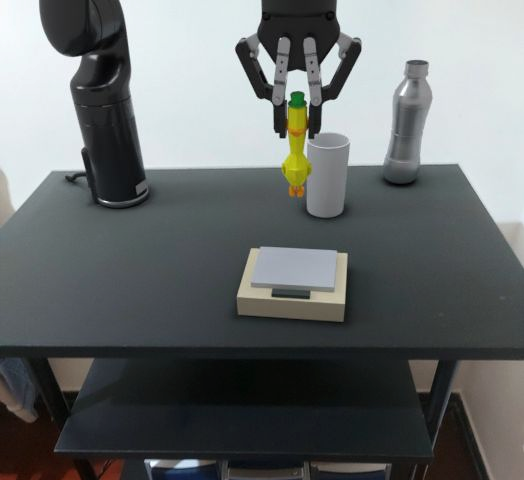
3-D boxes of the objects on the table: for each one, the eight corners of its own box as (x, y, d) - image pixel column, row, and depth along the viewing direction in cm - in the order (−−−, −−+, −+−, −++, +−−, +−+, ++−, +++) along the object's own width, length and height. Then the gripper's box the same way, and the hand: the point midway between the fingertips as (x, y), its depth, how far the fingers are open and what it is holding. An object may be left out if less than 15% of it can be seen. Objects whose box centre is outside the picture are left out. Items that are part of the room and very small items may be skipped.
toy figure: (284, 180, 70) (284, 81, 62) (312, 181, 70) (315, 81, 62) (280, 205, 65) (279, 100, 57) (309, 205, 65) (313, 100, 57)
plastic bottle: (377, 174, 103) (391, 58, 90) (411, 171, 103) (430, 56, 90) (386, 189, 98) (402, 69, 85) (422, 186, 99) (444, 66, 85)
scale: (237, 314, 72) (236, 291, 70) (251, 265, 81) (250, 243, 79) (343, 322, 71) (345, 298, 68) (346, 270, 79) (348, 248, 77)
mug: (341, 220, 90) (347, 149, 82) (302, 217, 91) (303, 146, 83) (348, 193, 97) (354, 125, 89) (311, 190, 99) (314, 123, 91)
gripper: (374, -54, 53) (358, 126, 65) (234, -51, 55) (243, 123, 66) (375, -44, 48) (357, 151, 59) (219, -41, 49) (232, 147, 61)
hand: (297, 135), depth 63 cm, fingers closed on toy figure, 2 cm apart
